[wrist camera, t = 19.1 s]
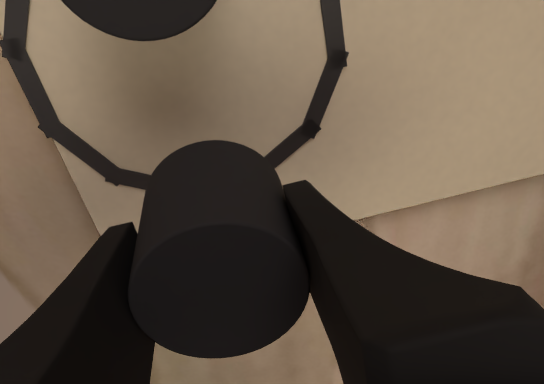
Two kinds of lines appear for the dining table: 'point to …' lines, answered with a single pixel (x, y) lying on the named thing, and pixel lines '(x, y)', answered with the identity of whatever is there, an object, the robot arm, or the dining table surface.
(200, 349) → the dot
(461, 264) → the dining table surface
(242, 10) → the face board
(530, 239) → the dining table surface
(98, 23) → the dot
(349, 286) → the robot arm
